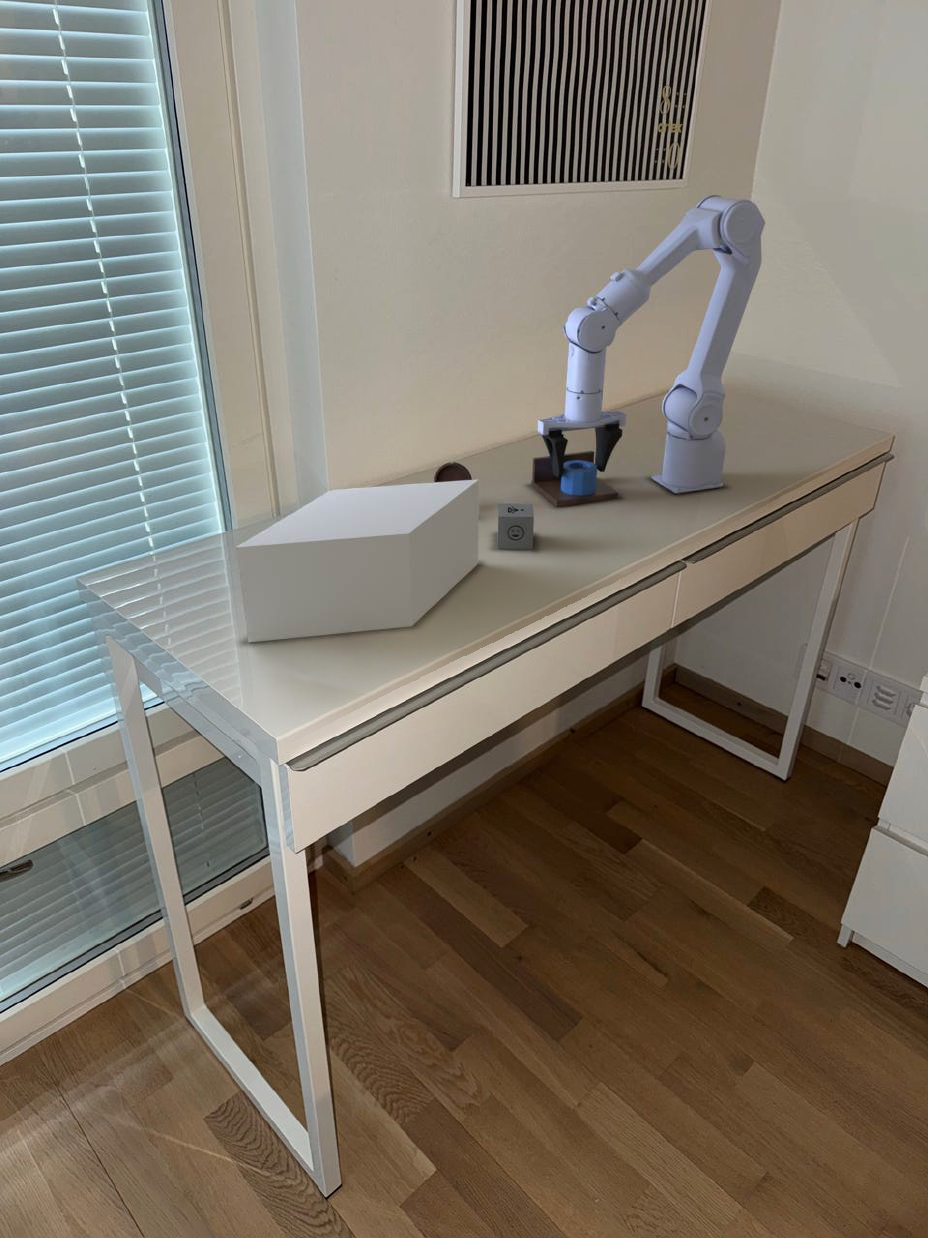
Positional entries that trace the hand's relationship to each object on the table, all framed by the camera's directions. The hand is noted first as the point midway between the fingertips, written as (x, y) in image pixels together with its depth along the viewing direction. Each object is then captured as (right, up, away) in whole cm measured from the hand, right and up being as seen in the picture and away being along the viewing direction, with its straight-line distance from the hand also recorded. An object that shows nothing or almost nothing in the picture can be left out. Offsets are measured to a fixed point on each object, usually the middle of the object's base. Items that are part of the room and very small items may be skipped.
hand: (578, 472), depth 147 cm
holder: (0, -3, +3) cm, 4 cm away
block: (-30, -21, -30) cm, 48 cm away
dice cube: (-11, -13, -14) cm, 22 cm away
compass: (-20, -8, -5) cm, 22 cm away
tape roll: (0, -3, +1) cm, 3 cm away
